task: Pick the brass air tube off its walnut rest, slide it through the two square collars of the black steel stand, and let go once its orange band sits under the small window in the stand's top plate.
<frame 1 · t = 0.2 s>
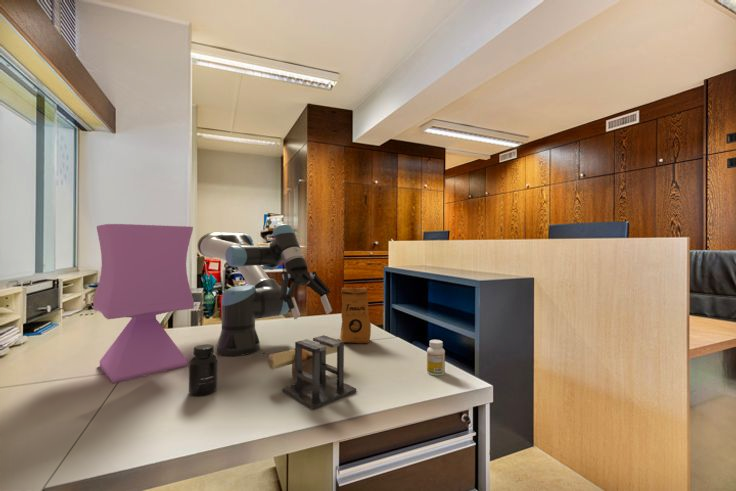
hand: (314, 314, 115), 16 cm above the table, tool tilted 35°, fingers open, 13 cm apart
supplement bottle 2: (435, 373, 104), on the table
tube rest: (308, 376, 101), on the table
coffee package: (355, 341, 138), on the table
collar stand: (319, 391, 90), on the table
supplement bottle: (203, 392, 90), on the table
pink table lamp: (143, 366, 109), on the table
air tube: (308, 352, 101), point 7 cm above the table, touching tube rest
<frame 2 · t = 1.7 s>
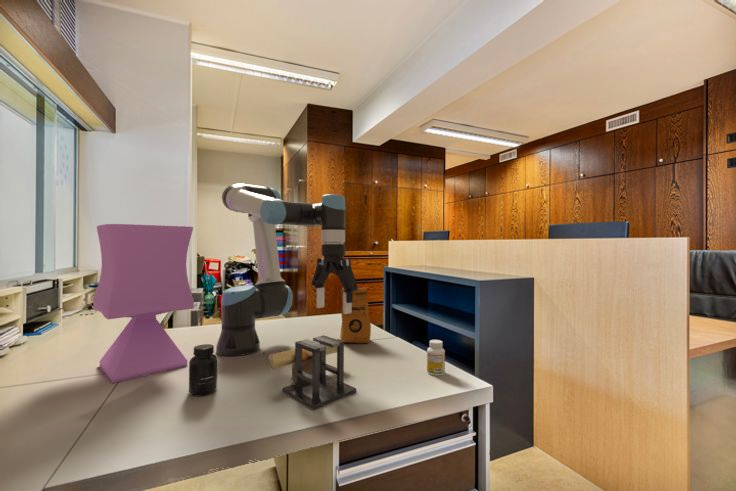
hand: (333, 310, 108), 18 cm above the table, tool pointing down, fingers open, 13 cm apart
nothing on the table moved.
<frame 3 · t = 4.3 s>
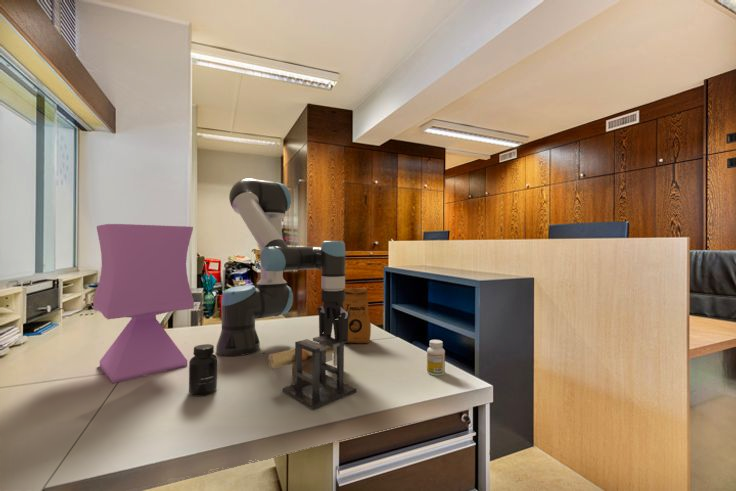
hand: (332, 362, 108), 2 cm above the table, tool pointing down, fingers closed on air tube, 4 cm apart
air tube: (308, 352, 101), point 7 cm above the table, touching gripper, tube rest
everything else where it was.
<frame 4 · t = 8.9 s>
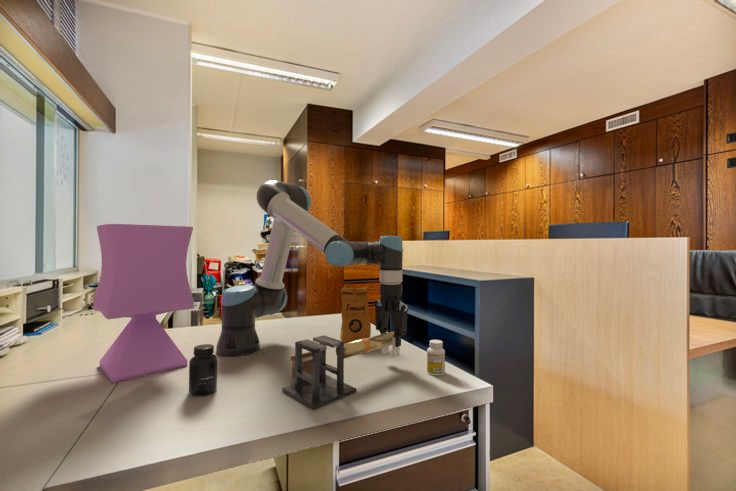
hand: (390, 354, 111), 4 cm above the table, tool pointing down, fingers closed on air tube, 4 cm apart
air tube: (370, 344, 104), point 9 cm above the table, touching gripper
everything else where it was.
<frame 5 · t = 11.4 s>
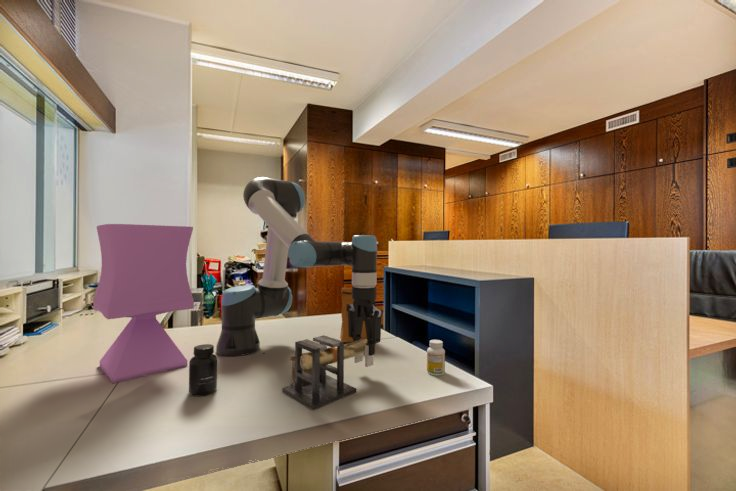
hand: (363, 363, 102), 4 cm above the table, tool pointing down, fingers closed on air tube, 4 cm apart
air tube: (339, 353, 95), point 9 cm above the table, touching gripper
everything else where it was.
when the fingers open (4 cm above the table, at t = 13.5 s): air tube drops 1 cm, resting on collar stand.
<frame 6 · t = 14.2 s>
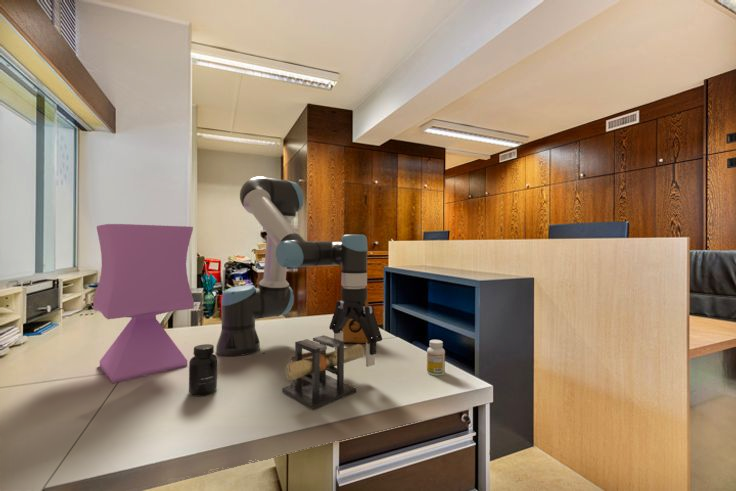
hand: (353, 359, 99), 6 cm above the table, tool pointing down, fingers open, 13 cm apart
air tube: (327, 360, 93), point 8 cm above the table, tilted 7°, touching collar stand
everything else where it was.
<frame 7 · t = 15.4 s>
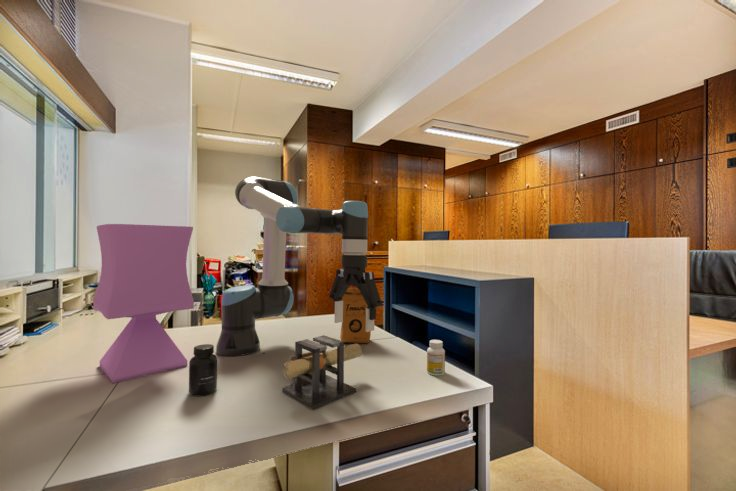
hand: (353, 326, 99), 15 cm above the table, tool pointing down, fingers open, 13 cm apart
air tube: (325, 359, 93), point 8 cm above the table, tilted 38°, touching collar stand
everything else where it was.
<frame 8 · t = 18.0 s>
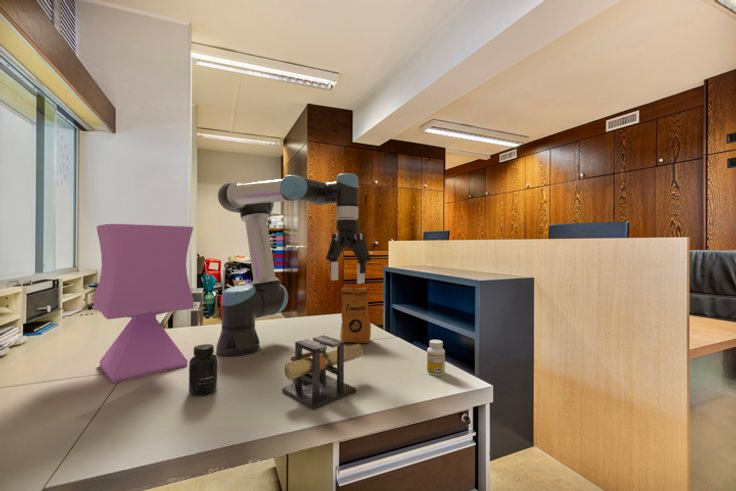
hand: (347, 281, 116), 27 cm above the table, tool pointing down, fingers open, 13 cm apart
air tube: (326, 360, 93), point 8 cm above the table, tilted 23°, touching collar stand
everything else where it was.
at the end: air tube 0.9 cm from the target spot on the collar stand, point 7.6 cm above the collar stand's base; the gripper is holding nothing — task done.
